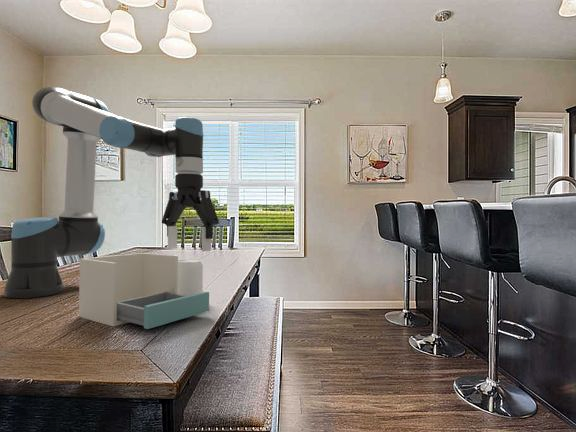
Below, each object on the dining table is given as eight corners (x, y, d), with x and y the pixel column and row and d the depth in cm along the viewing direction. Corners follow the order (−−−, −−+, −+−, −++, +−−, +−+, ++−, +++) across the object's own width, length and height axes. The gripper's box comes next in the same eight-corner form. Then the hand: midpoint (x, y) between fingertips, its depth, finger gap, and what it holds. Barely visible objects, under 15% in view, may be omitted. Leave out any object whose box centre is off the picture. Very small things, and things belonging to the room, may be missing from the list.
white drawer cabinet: (79, 316, 89) (79, 258, 89) (143, 302, 104) (144, 252, 104) (113, 326, 82) (114, 263, 82) (177, 309, 97) (178, 256, 97)
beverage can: (194, 307, 99) (195, 263, 99) (166, 306, 101) (167, 262, 101) (207, 301, 107) (207, 259, 107) (181, 299, 109) (181, 258, 109)
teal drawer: (107, 318, 83) (107, 297, 83) (170, 303, 98) (170, 285, 98) (147, 329, 76) (147, 306, 76) (208, 310, 91) (209, 292, 91)
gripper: (149, 175, 107) (149, 248, 107) (212, 169, 94) (212, 253, 94) (169, 177, 114) (169, 246, 113) (232, 172, 100) (231, 250, 100)
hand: (189, 249), depth 104 cm, fingers open, 13 cm apart
